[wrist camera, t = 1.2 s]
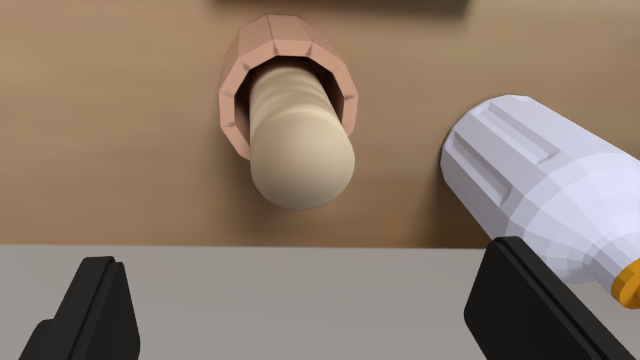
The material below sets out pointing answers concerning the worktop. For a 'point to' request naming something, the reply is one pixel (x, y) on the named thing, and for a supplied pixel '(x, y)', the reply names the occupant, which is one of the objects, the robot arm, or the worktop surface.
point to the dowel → (295, 136)
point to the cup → (265, 43)
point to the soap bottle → (550, 191)
